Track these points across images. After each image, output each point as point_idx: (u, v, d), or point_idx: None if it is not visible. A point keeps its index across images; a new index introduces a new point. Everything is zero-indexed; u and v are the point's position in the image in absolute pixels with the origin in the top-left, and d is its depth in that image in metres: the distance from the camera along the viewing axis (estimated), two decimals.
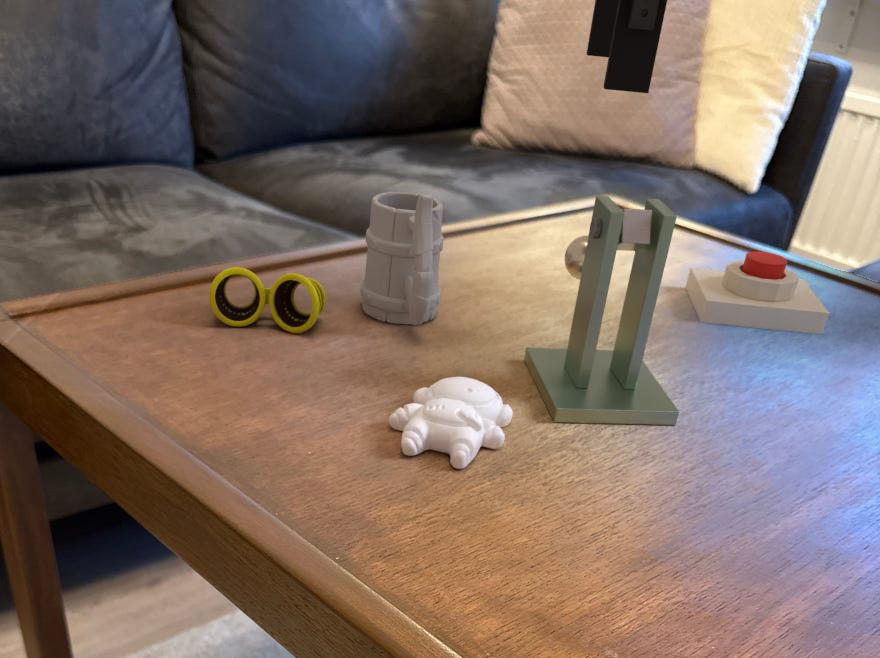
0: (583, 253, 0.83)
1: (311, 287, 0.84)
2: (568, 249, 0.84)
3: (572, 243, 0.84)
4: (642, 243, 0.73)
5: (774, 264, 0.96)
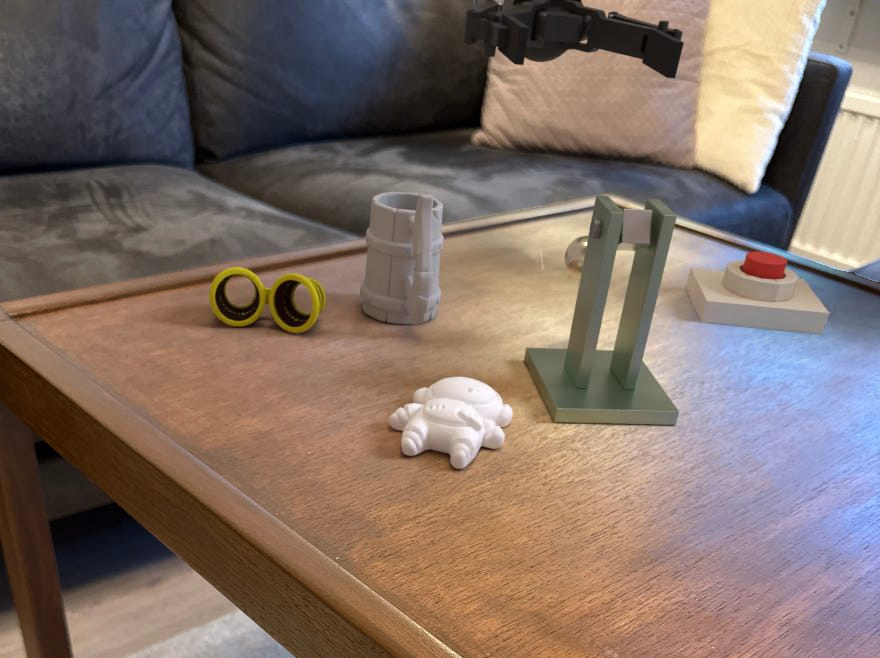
0: (583, 253, 0.83)
1: (311, 287, 0.84)
2: (568, 249, 0.84)
3: (572, 243, 0.84)
4: (642, 243, 0.73)
5: (774, 264, 0.96)
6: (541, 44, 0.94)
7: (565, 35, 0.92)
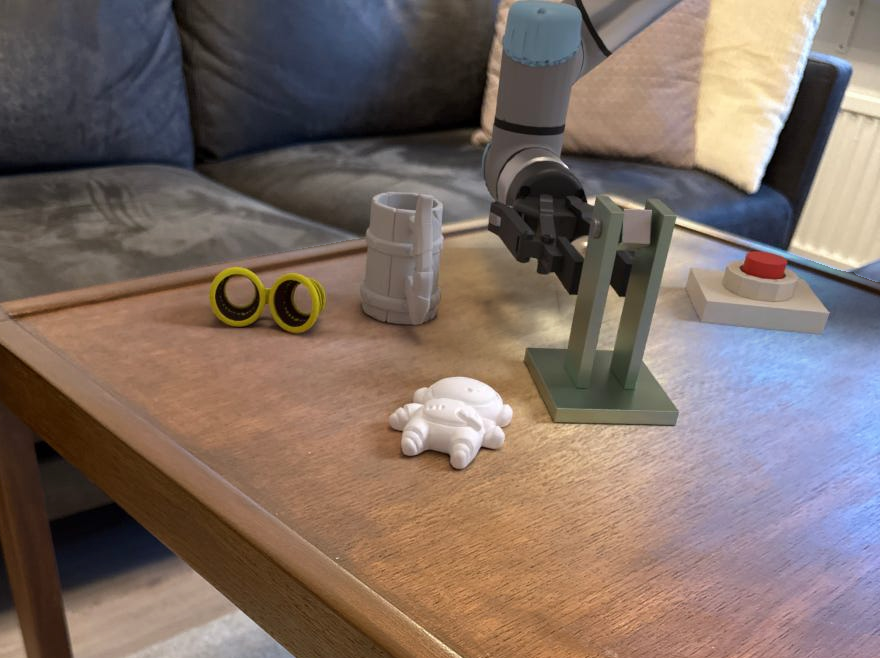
0: (583, 253, 0.83)
1: (311, 287, 0.84)
2: None
3: (572, 243, 0.84)
4: (642, 243, 0.73)
5: (774, 264, 0.96)
6: None
7: (566, 233, 0.92)
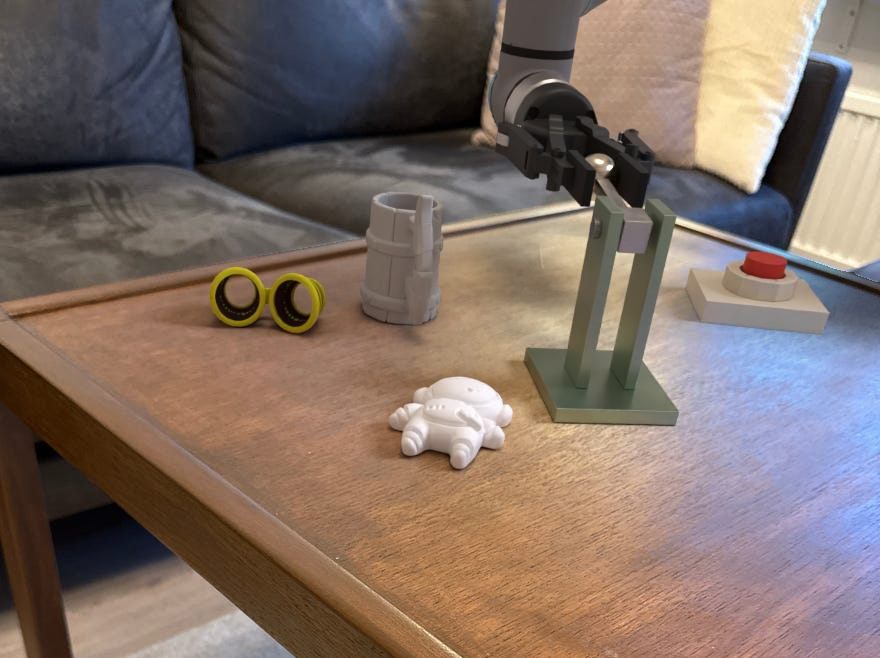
0: None
1: (311, 287, 0.84)
2: None
3: None
4: (637, 253, 0.74)
5: (774, 264, 0.96)
6: None
7: None
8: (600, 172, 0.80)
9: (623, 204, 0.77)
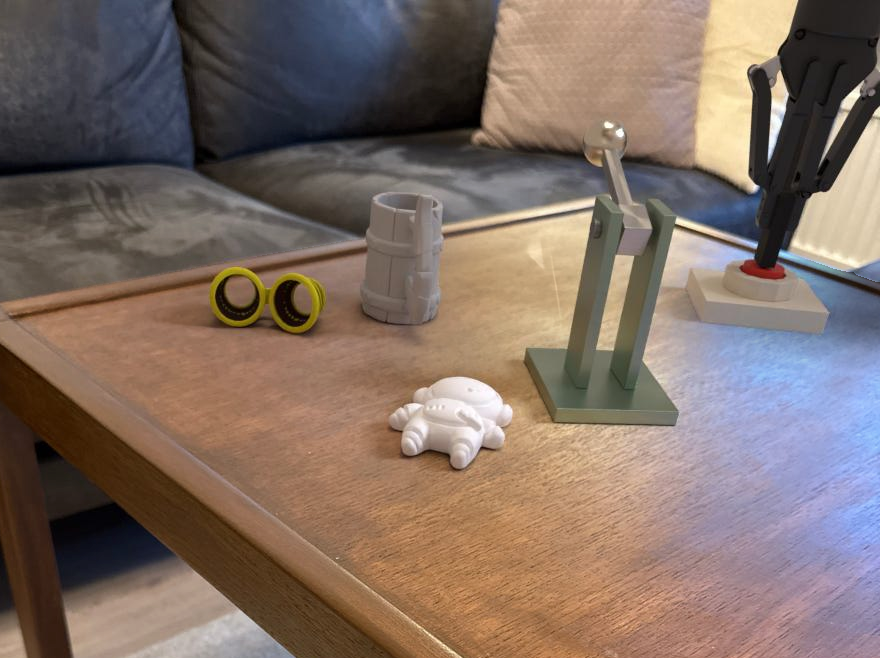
0: (600, 153, 0.79)
1: (311, 287, 0.84)
2: (588, 137, 0.79)
3: (593, 132, 0.78)
4: (635, 254, 0.75)
5: (771, 272, 0.96)
6: (835, 74, 0.86)
7: None
8: (609, 142, 0.78)
9: (627, 192, 0.76)
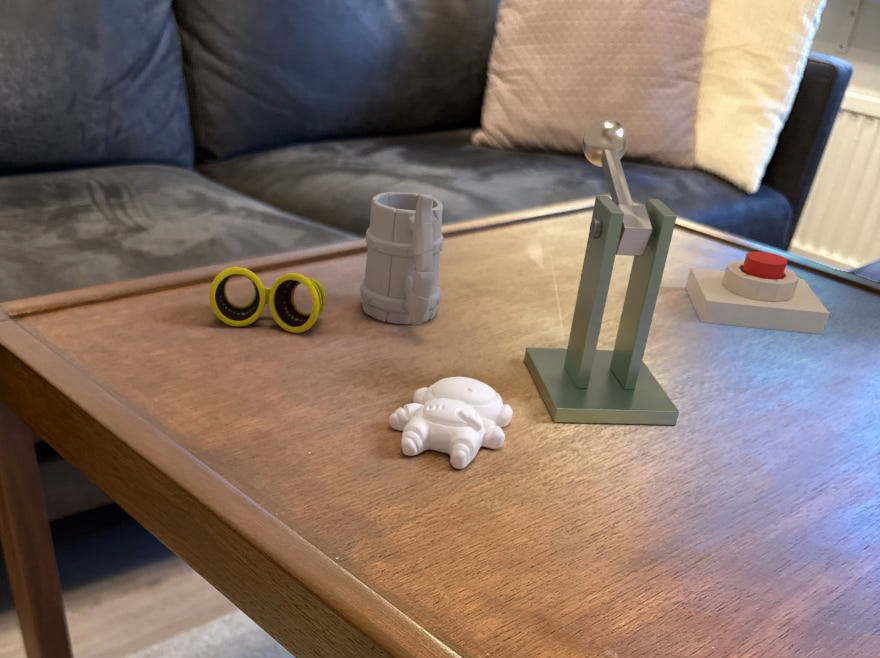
0: (600, 153, 0.79)
1: (311, 287, 0.84)
2: (588, 137, 0.79)
3: (593, 132, 0.78)
4: (635, 254, 0.75)
5: (774, 264, 0.96)
6: None
7: None
8: (609, 142, 0.78)
9: (627, 192, 0.76)
